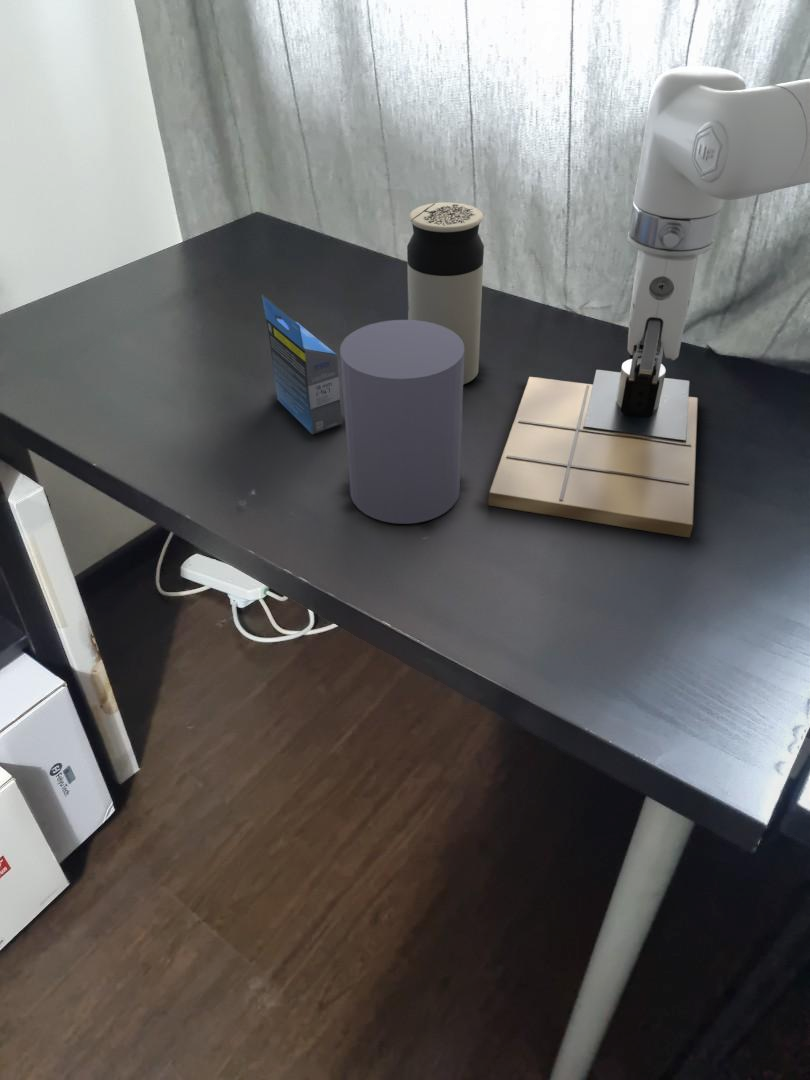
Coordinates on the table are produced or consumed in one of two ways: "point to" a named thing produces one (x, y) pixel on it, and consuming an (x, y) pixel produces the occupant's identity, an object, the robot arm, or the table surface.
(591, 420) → the board
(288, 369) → the blue product box
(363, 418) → the container
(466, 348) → the travel mug
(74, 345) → the table surface
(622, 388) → the white squat cylinder
